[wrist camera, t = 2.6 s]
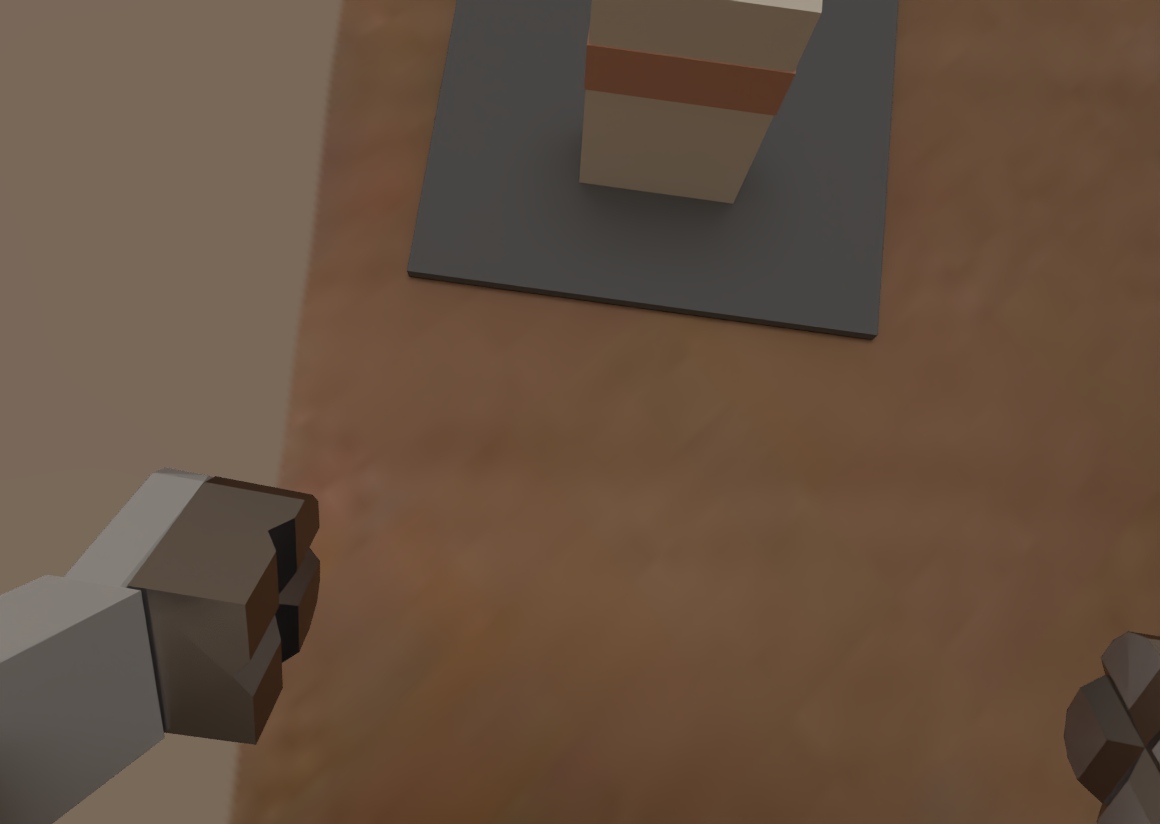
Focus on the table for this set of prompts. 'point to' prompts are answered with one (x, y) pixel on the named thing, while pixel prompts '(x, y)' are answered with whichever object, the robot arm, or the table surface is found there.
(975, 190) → the table surface
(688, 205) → the mat
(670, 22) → the card box
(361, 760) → the table surface
